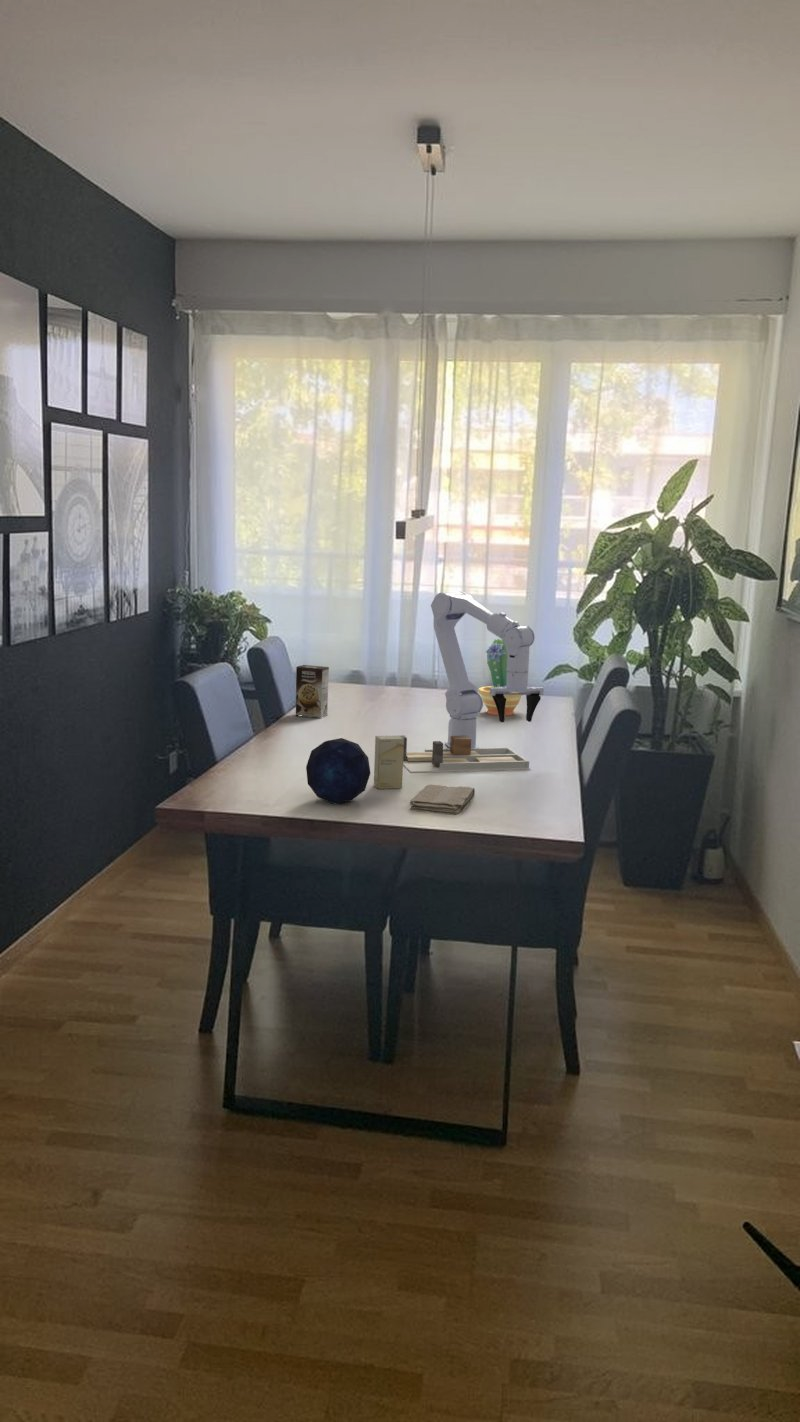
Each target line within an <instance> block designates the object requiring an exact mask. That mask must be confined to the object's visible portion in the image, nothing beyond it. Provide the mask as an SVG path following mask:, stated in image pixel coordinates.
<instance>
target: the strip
mask: <svg viewBox="0 0 800 1422" xmlns="http://www.w3.org/2000/svg"><path fill="white" fill-rule="evenodd" d="M400 736H401V737H402V738H404V752H403V760H406V759H407V760H408V761H432V752H425V751H412V752H410V751H409V752H408V751H407V750H408V749H407V743H408V742H407V741H408V739H407V738H408V737H407V736H406V735H400ZM452 755H453V754H452V753H450V751H447V752H443V756H452ZM471 755H480V754H478V753H477V752H476V751H471Z"/></svg>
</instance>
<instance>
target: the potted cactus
mask: <svg viewBox="0 0 800 1422" xmlns="http://www.w3.org/2000/svg"><path fill="white" fill-rule="evenodd" d="M485 653H486V662H487V665H488V667H489V668H488V669H489V671H490V676H491V681H492V685H488V686H481V687H479V688H478V693H479V694H480V696H481V697H482V700H483V705H484V706H485V707H486V709H487V711H486V713H488V714H489V715H493V716H499V714H498V710H497V707H496V704H495V702H494V699H493V697H492V695H490V687H504V686H506V680H507V658H508V654H507V647H506V645H505V643H504V640H502V639H501V638H497V639H494V640H493V642H492V643H491V644H490V646H488V649H486V651H485ZM511 693H519V692H511ZM521 693H525V692H521ZM504 696H505V698H506V704H505V716H512V715H514V714H515V712H514V710H515V709H516V708H517V706H518V705H519V704H520V701H521V697H522V696H523V695H504Z"/></svg>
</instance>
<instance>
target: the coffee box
mask: <svg viewBox="0 0 800 1422" xmlns="http://www.w3.org/2000/svg"><path fill="white" fill-rule="evenodd" d="M295 669H296V675H295V676H296V678H295V680H296V681H295V682H296V683H295V685H296V686H295V716H296V715H302V716H310V717H309V718H312V717H318V718H317V719H322V717H323V718H325V717H327V716H328V711H329V710H328V709H329V708H328V707H329V706H328V705H329V704H328V703H329V700H328V699H329V674H330V673H329V670H330V667H329V666H323V665H322V666H320V665H309V664H302V665H298V666H296V668H295ZM326 715H327V716H326ZM324 716H325V717H324Z"/></svg>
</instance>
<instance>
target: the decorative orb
mask: <svg viewBox="0 0 800 1422" xmlns="http://www.w3.org/2000/svg"><path fill="white" fill-rule="evenodd" d="M369 761H370V760H369V757H368V755H367V754H366V753H365V751H364V750H363V749H362V747H361V746H360V744H359V743H357V742H353V741H351V740H348V739H345V738H343V737H340V738H335V739H334V738H333V739H330V740H325V741H323V742H322V743H320V744H319V745H318V746H316V747H315V748H313V749H312V750H311V751H310V753H309V758H308V760H307V762H306V766H305V770H306V778H307V779H306V780H307V785H308V787H309V788H310V789H311V790H312V791H313V793H314V794H315V795H316V796H317V798H318V799H322V801H323V800H324V801H326V802H329V803H332V804H334V803H336V804H340V803H346V802H350V801H353V800H355V798H357V797H358V796H359V795H361V794H362V793H364V792H365V791H366V788H367V785H368V782H369V779H370V776H371V766H370V762H369Z"/></svg>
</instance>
